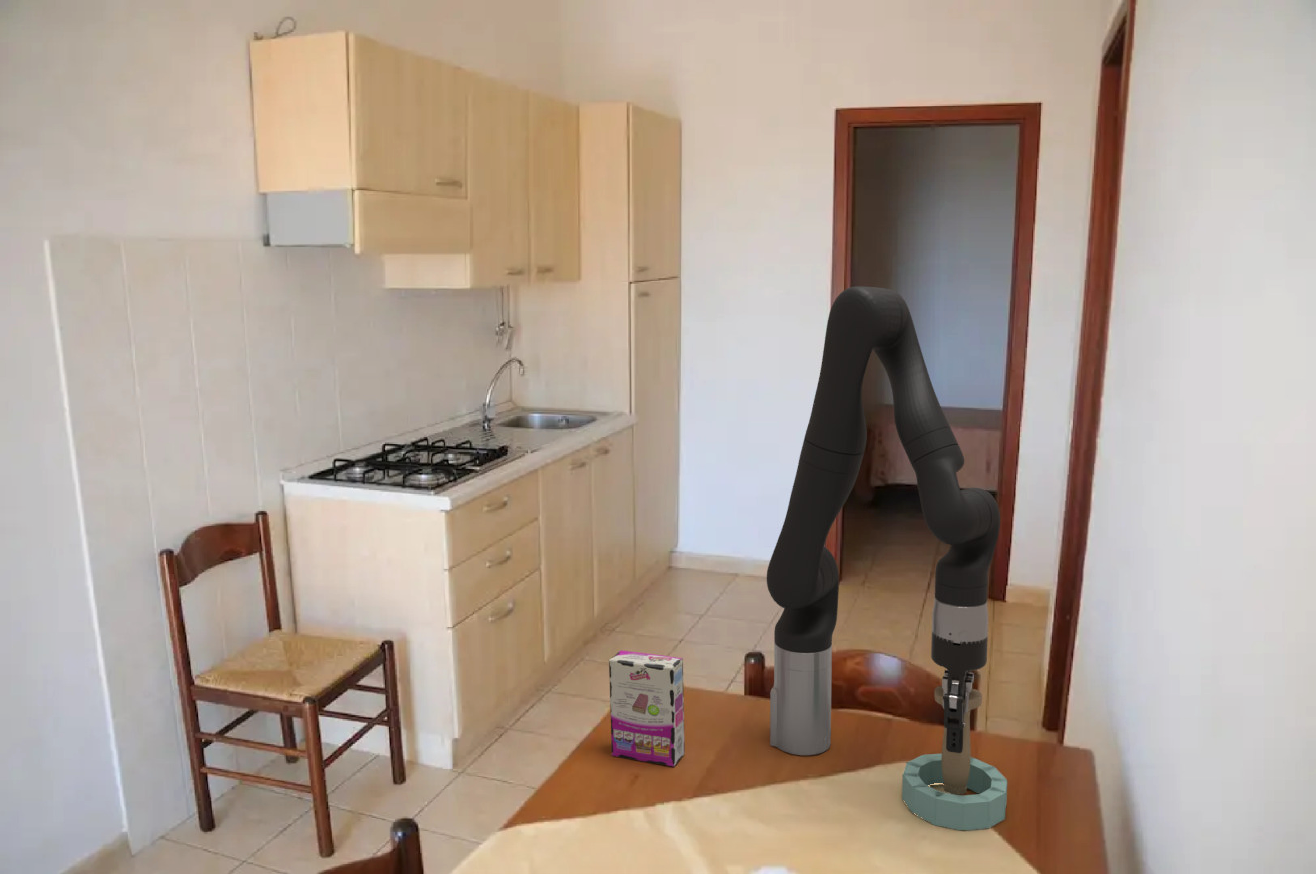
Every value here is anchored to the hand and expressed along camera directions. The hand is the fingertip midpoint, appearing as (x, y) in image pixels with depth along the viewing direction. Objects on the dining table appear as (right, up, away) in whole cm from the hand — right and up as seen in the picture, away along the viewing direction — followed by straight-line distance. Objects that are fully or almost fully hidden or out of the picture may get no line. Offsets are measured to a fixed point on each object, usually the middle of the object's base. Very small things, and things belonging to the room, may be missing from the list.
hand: (955, 744), depth 136 cm
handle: (0, -7, +1) cm, 7 cm away
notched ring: (0, -9, +1) cm, 9 cm away
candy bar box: (-44, -7, +17) cm, 48 cm away
